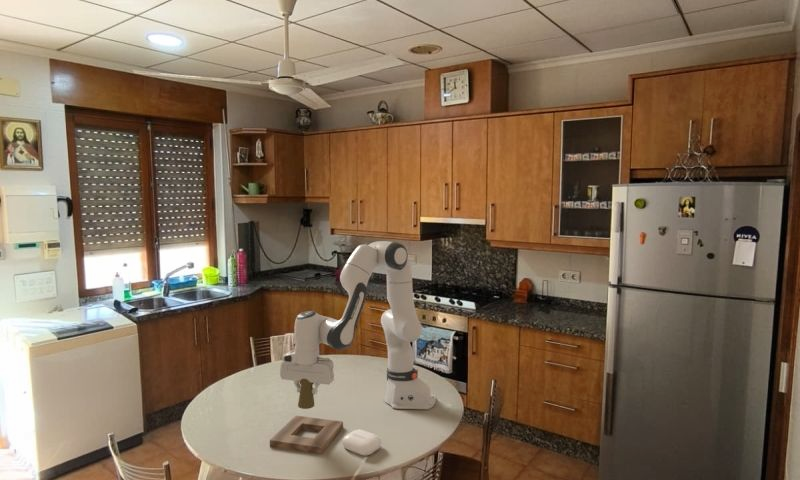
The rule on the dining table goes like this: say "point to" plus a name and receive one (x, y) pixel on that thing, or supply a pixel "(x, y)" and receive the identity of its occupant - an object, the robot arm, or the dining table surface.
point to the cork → (306, 395)
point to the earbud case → (362, 442)
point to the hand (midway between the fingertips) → (307, 392)
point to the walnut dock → (305, 444)
